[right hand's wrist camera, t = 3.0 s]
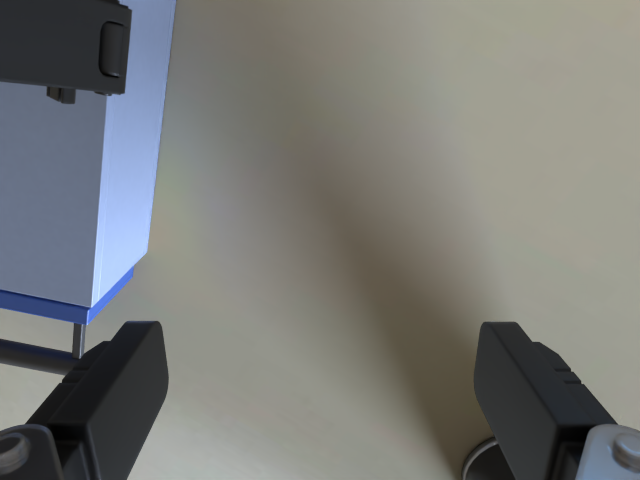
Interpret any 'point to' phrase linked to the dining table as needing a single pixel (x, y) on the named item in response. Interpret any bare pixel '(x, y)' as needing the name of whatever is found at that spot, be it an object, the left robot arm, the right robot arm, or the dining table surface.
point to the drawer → (53, 309)
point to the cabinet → (83, 173)
